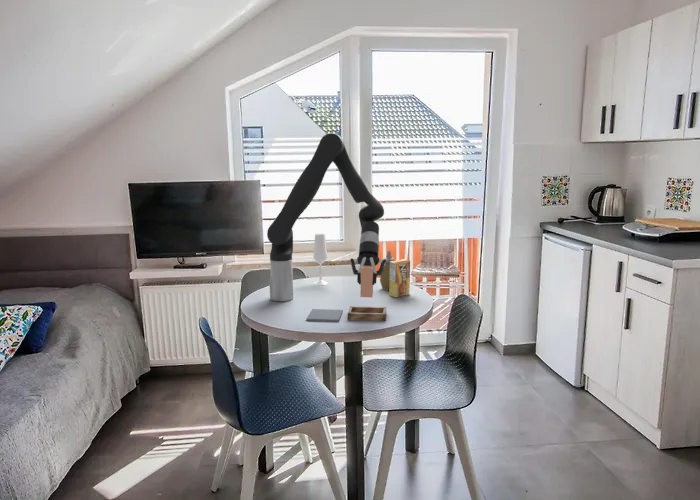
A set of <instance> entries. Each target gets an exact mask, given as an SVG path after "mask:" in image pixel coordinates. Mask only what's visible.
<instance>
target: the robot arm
mask: <svg viewBox="0 0 700 500" xmlns="http://www.w3.org/2000/svg"><path fill="white" fill-rule="evenodd" d="M332 163H334V165H335V166H336V168H337V170H338V171H339V174H340V176H341V178H342V181H343V182H344V184H345V187H346V189H347V191H348V192H349V194H350V195H351V197H352V199H353V201H354V202H355V203H356V204H359V203H364V204H366V206H363V207H361V209H360V210H359V212H358V218H359V223H360V227H361V233H360V239H359V247H358V248H359V249H358V256H357V258H350V266H351V269H352V273H353V275H355V276H356V275H357V278H356V282H357V284H358V285H359V286H361V266H373V281H372V284H373V286H375V284H377V277H378V276H379V277H380V276H381V275H382V273H383V270H384V268H385V265H386V260H385V259H384V258H383V259H380V257H379V251H380V250H379V248H380V237H379V236H380V235H379V234H380V227H379V224H378V223H377V222H376V221H377V220H379V219H381V218H382V217H384V215H385V210H384V209H385V208H384V206H383V205H382V203H381V202H380V201H379V200H378V199H377V198H376V197H375V196H374V195H373V194H372V193H371V192H370V191H369V189H368V186H367V185H366V184H365V181H363V179H362V177H361V175H360V174H359V172H358V171H357V169H356V168H355V166H354V164H353V162H352V160H351V159H350V156H349V154H348V152H347V149H346V146H345V143H344V139H343V138H342V137H341V136H340V135H339V134H337V133H333V132H328V133H325V134H324V135H323V136H322V137H321V138H320V141H319V143H318V145H317V148H316V150H315V152H314V154H313V156H312V158H311V160H310V161H309V163H308V164H307V165H306V167H305V169H304V170H303V171H302V173H301V174H300V176H299V178H298V179H297V181H295V184H294V185H293V186H292V189H291V191H290V192H289V194H288V197H287V198H286V200H285V203H284V205H283V207H282V209H281V210H280V211H279V214H278V215H277V216H276V217H275V219H274V220H273V222H272V223H271V224H270V226H269V227H268V229H267V231H266V233H267V236H266V237H267V240H268V242H269V243H271V250H270V253H269V265H270V267H269V269H270V278H269V281H268V282H269V301H275V302H288V301H291V300H293V299H294V279H293V278H294V277H293V252H294V234H293V233H294V232H293V227H294V225H295V223H296V222H297V220H298V219H299V217H300V216H301V215H302V214H303V213H304V211H305V210H306V209H307V208H308V207H309V205H310V204H311V203H312V201H313V200H314V198H315V196H316V195H317V193H318V192H319V189H320V188H321V185H322V183H323V180H324V178H325V176H326V172H327V171H328V169H329V167H330V166H331V164H332ZM357 263H358V264H359V266H358V267H359V268H358V269H357V267H356V265H357ZM378 264H379V268H378V270H377V268H376V266H378Z"/></svg>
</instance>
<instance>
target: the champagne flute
mask: <svg viewBox="0 0 700 500" xmlns="http://www.w3.org/2000/svg"><path fill="white" fill-rule="evenodd" d="M326 240H327V239H326V234H325V233H315V234H314V243H313V244H314V246H313V260H315V262H316V263H317V264H319V267H318V269H319V273H318V274H319V279H318V280H317V281H315V282H314V283H313V284H314V285H316V286H324V285H325V286H326V285H328V282H327V281H325V280H323V268H322V267H323V265H322V264H324V263H325V261H326V260H327V259H328V252H327V241H326Z"/></svg>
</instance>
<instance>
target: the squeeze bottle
mask: <svg viewBox="0 0 700 500" xmlns="http://www.w3.org/2000/svg"><path fill="white" fill-rule="evenodd" d="M384 259H385V260H386V265H385V268H384V270H383V273H382V275H381V276H379V277H380V278H379V282H380V285H381V289H382V290H385V291H389V284H390V262H391V261H395V258H394V257H392V252H391V250H390V249H388V250H387V252H386V257H384V258H383V260H384Z"/></svg>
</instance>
